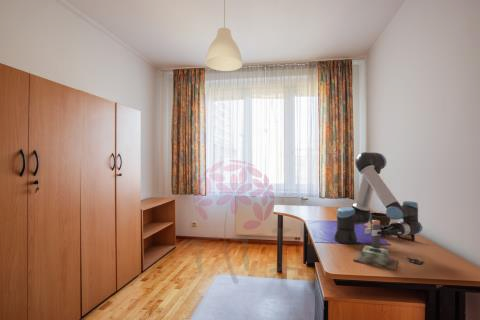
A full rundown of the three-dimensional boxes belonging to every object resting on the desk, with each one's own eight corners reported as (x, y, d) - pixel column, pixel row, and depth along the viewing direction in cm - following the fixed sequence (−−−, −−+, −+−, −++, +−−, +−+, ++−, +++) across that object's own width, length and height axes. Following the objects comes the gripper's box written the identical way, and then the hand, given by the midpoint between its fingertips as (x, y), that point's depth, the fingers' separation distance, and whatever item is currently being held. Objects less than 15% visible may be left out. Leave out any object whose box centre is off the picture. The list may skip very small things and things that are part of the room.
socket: (353, 261, 138) (353, 250, 138) (358, 252, 151) (358, 243, 151) (395, 270, 126) (395, 259, 126) (397, 260, 139) (397, 250, 139)
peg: (371, 247, 138) (371, 220, 138) (372, 245, 141) (372, 219, 141) (379, 249, 135) (379, 221, 136) (380, 247, 138) (380, 220, 139)
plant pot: (391, 239, 179) (392, 217, 179) (368, 236, 186) (369, 215, 186) (389, 234, 193) (389, 213, 193) (368, 231, 199) (368, 211, 200)
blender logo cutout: (404, 258, 144) (404, 257, 144) (418, 259, 143) (418, 258, 143) (412, 264, 135) (412, 263, 135) (428, 266, 133) (428, 264, 133)
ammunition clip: (415, 240, 176) (415, 224, 176) (414, 241, 175) (414, 224, 175) (398, 237, 184) (398, 221, 184) (397, 237, 183) (397, 221, 183)
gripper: (413, 239, 136) (382, 243, 128) (386, 231, 152) (356, 234, 144) (413, 225, 136) (381, 229, 128) (386, 219, 152) (356, 222, 145)
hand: (368, 232), depth 136 cm, fingers closed on peg, 4 cm apart
